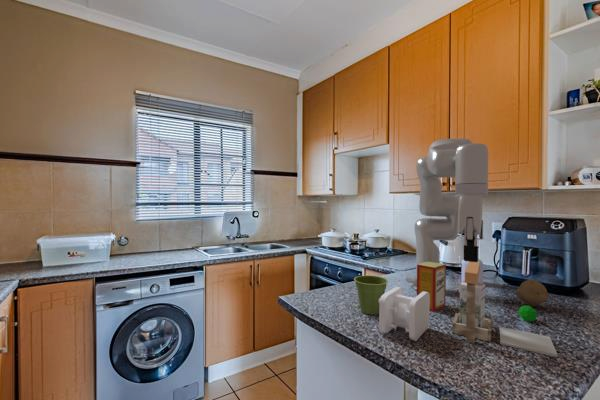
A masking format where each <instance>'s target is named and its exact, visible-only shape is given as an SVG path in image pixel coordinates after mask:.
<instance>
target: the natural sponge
mask: <svg viewBox="0 0 600 400" xmlns="http://www.w3.org/2000/svg"><path fill="white" fill-rule="evenodd" d="M548 293H549V292H548V290H547V288H546V286H544V285H543V284H542V282H540V281H538V280H536V279H527V280H525V281H523V282H522V283H521V284H520V285H519V287H518V288H517V290H516V296H517V298H518V299H519V300H520V301H522V302H524V303H525V304H526V305H527V306H530V307H537V306H539V305H541V304H542V303H544V302H546V300H548V297H549V295H548Z"/></svg>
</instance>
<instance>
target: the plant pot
mask: <svg viewBox="0 0 600 400" xmlns="http://www.w3.org/2000/svg"><path fill="white" fill-rule="evenodd" d="M353 280H354V282H355V286H356V291H357V297H358V301H359V302H358V303H359V308H360V311H361V313H364V314H366V315H378V314H379V306H380V303H379V299H380V298H381V296H382V295H383V294H385V293H386V292H385V291H386V289H387V284H388V283H389V280H388V279H387V278H385V277H383V276H378V275H358V276H355V277H354V278H353Z"/></svg>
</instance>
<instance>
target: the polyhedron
mask: <svg viewBox="0 0 600 400" xmlns="http://www.w3.org/2000/svg"><path fill="white" fill-rule="evenodd" d="M518 315H519V317H520V318H521V319H522V320H524V321H525V322H527V323H528V322H529V323H532V322H534V321H536V320H537V317H538V312H537V310H536V309H534V307H533V306H530V305H527V304H526V305H522V306H520V307H519V309H518Z"/></svg>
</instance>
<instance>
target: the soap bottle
mask: <svg viewBox="0 0 600 400" xmlns="http://www.w3.org/2000/svg"><path fill="white" fill-rule="evenodd" d="M463 236H464V235H463ZM463 238H464V241H463V242H464V245H465V236H464V237H463ZM464 245H463V246H464ZM478 249H479V246H478ZM478 262H479V263H480V272H479V278H478V283H482V284H484V263H483V261H482V260H481V259H479V258H478ZM468 263H469V261H464V258H463V259H462V260H461V281H460V282H461V283H462V282H463V281H465V271H466V268H467V265H468Z"/></svg>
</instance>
